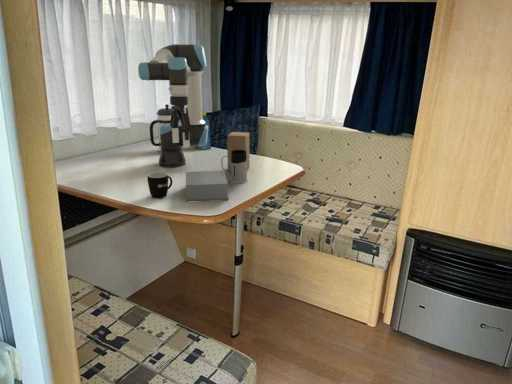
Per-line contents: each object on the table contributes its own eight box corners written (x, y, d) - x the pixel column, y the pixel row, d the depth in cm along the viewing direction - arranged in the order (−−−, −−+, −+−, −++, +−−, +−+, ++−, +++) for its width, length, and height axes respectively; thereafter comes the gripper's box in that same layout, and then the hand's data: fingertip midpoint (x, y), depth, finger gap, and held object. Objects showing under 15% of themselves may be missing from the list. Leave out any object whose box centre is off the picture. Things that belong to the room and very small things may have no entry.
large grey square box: (185, 187, 199) (185, 171, 197) (224, 186, 202) (224, 170, 199) (185, 202, 180) (185, 185, 177) (228, 200, 183) (228, 183, 180)
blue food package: (202, 150, 270) (201, 111, 261) (194, 146, 279) (192, 109, 271) (211, 149, 273) (210, 110, 265) (202, 145, 282) (201, 108, 274)
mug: (156, 201, 181) (155, 179, 177) (144, 196, 186) (143, 174, 183) (178, 194, 189) (177, 173, 186) (166, 190, 195) (165, 169, 191)
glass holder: (250, 181, 208) (251, 152, 203) (225, 185, 201) (225, 155, 196) (242, 176, 215) (242, 148, 210) (217, 181, 208) (217, 152, 203)
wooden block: (245, 173, 222) (245, 136, 216) (227, 171, 224) (227, 135, 217) (249, 168, 231) (249, 132, 225) (232, 166, 233) (231, 131, 227)
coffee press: (161, 148, 273) (157, 102, 263) (184, 149, 271) (182, 103, 261) (151, 154, 257) (147, 106, 247) (176, 156, 255) (173, 106, 245)
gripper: (161, 94, 185) (163, 141, 191) (180, 97, 164) (182, 150, 170) (177, 93, 188) (179, 140, 194) (198, 97, 167) (199, 148, 174)
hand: (181, 145), depth 182 cm, fingers open, 13 cm apart
